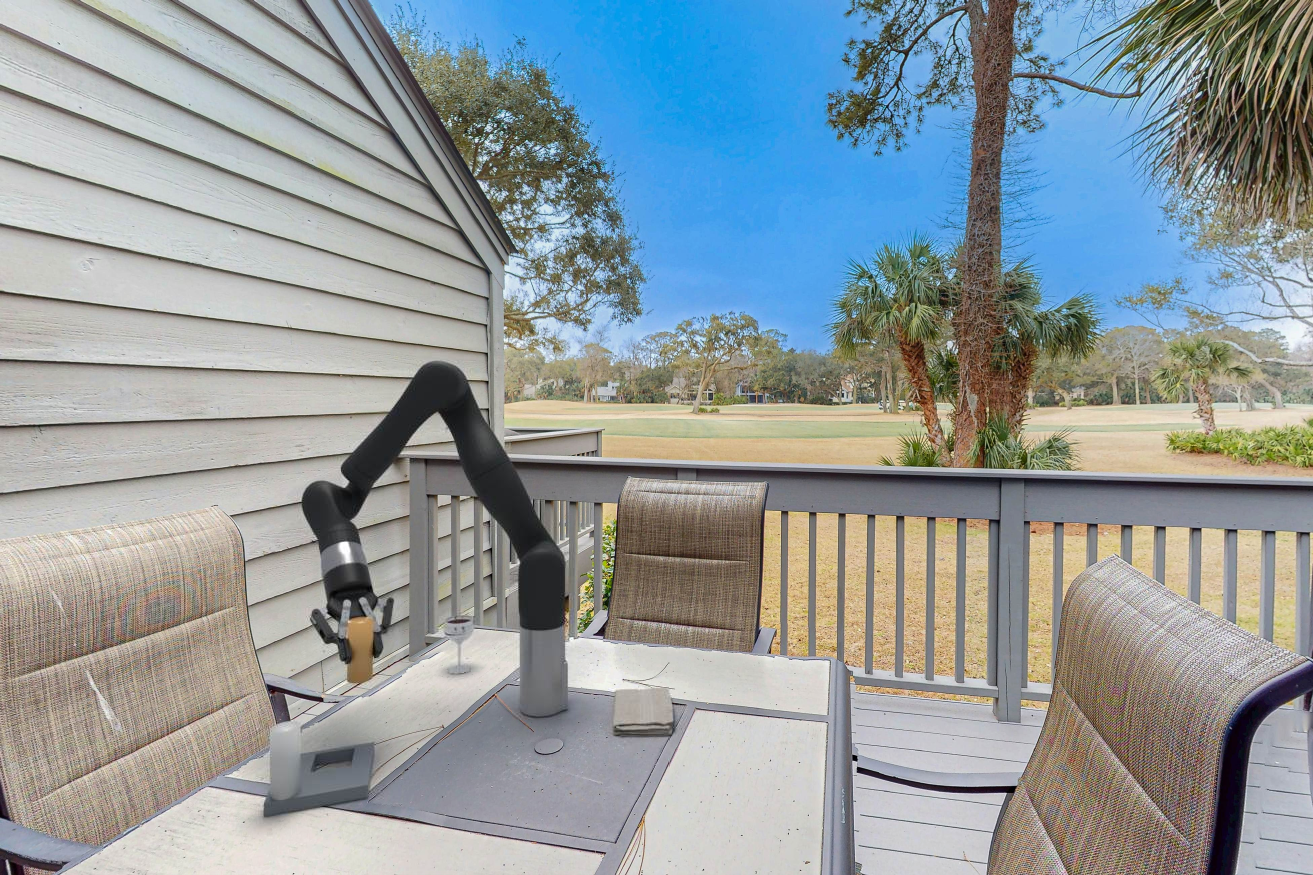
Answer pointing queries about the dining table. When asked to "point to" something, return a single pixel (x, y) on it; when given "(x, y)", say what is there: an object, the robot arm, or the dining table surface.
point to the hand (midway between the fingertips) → (363, 658)
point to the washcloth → (642, 712)
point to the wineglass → (459, 635)
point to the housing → (313, 773)
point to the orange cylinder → (360, 649)
